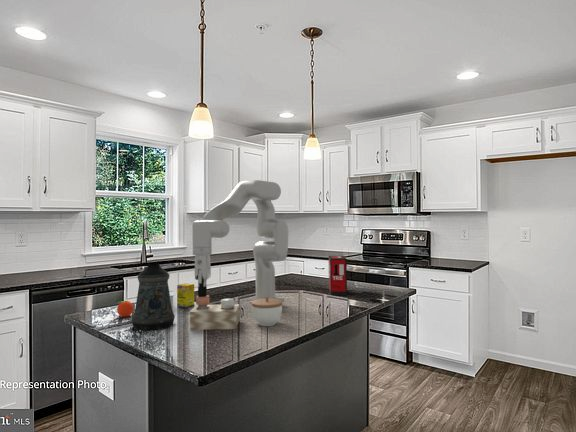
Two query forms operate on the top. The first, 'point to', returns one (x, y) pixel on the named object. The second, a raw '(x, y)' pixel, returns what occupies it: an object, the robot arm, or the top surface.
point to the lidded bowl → (267, 311)
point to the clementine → (125, 308)
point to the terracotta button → (202, 302)
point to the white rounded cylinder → (227, 303)
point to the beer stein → (153, 300)
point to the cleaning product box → (337, 275)
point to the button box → (214, 318)
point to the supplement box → (185, 295)
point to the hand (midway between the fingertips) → (202, 296)
